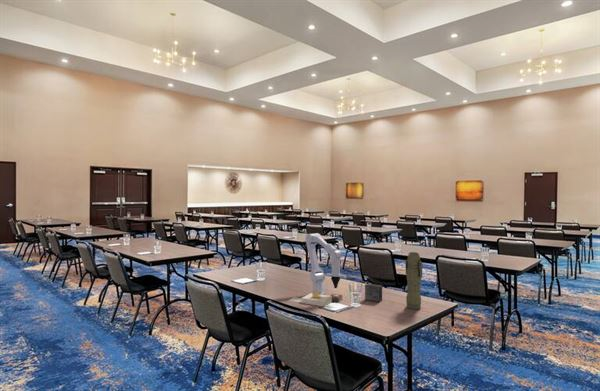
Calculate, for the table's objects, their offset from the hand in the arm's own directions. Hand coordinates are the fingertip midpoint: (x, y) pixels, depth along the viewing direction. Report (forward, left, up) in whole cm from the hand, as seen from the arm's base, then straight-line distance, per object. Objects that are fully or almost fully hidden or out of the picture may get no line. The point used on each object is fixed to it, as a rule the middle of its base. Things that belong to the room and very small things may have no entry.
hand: (335, 287), depth 247 cm
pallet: (+11, -9, -8) cm, 17 cm away
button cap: (0, 0, -8) cm, 8 cm away
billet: (+11, -9, -7) cm, 16 cm away
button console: (0, 0, -8) cm, 8 cm away
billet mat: (+13, -23, -8) cm, 28 cm away
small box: (-12, +23, -9) cm, 27 cm away
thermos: (-9, +50, -9) cm, 52 cm away
